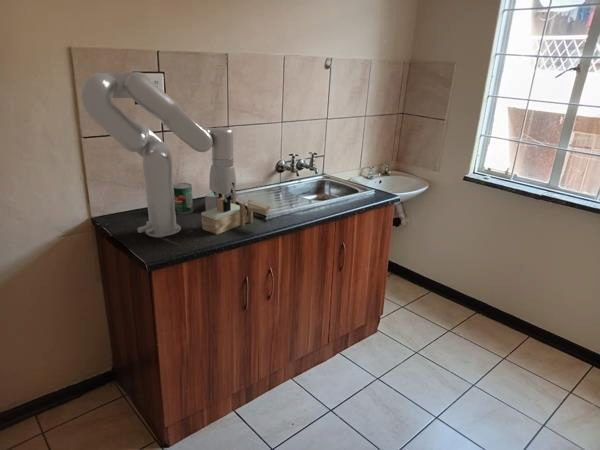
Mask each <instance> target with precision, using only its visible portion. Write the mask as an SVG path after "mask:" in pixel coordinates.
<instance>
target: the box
mask: <svg viewBox="0 0 600 450" xmlns="http://www.w3.org/2000/svg"><path fill="white" fill-rule="evenodd" d="M223 197H224V195H223ZM227 197H228V195H227ZM204 199H205V211H208V210H211V209H214V208H217V199H216V198H215V195H214V193H213V192H212V191H211V192H209V193H208V194H206V195H204Z"/></svg>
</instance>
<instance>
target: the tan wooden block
mask: <svg viewBox="0 0 600 450" xmlns="http://www.w3.org/2000/svg"><path fill="white" fill-rule="evenodd" d="M248 210H250V211H253V213H256V214H259V215H263V216H268V215H270V214H271V206H270V205H268V204H265V203H262V202H261V203H260V202H258V201H254V200H253V201H250V202H248V201H247V211H248Z"/></svg>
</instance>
